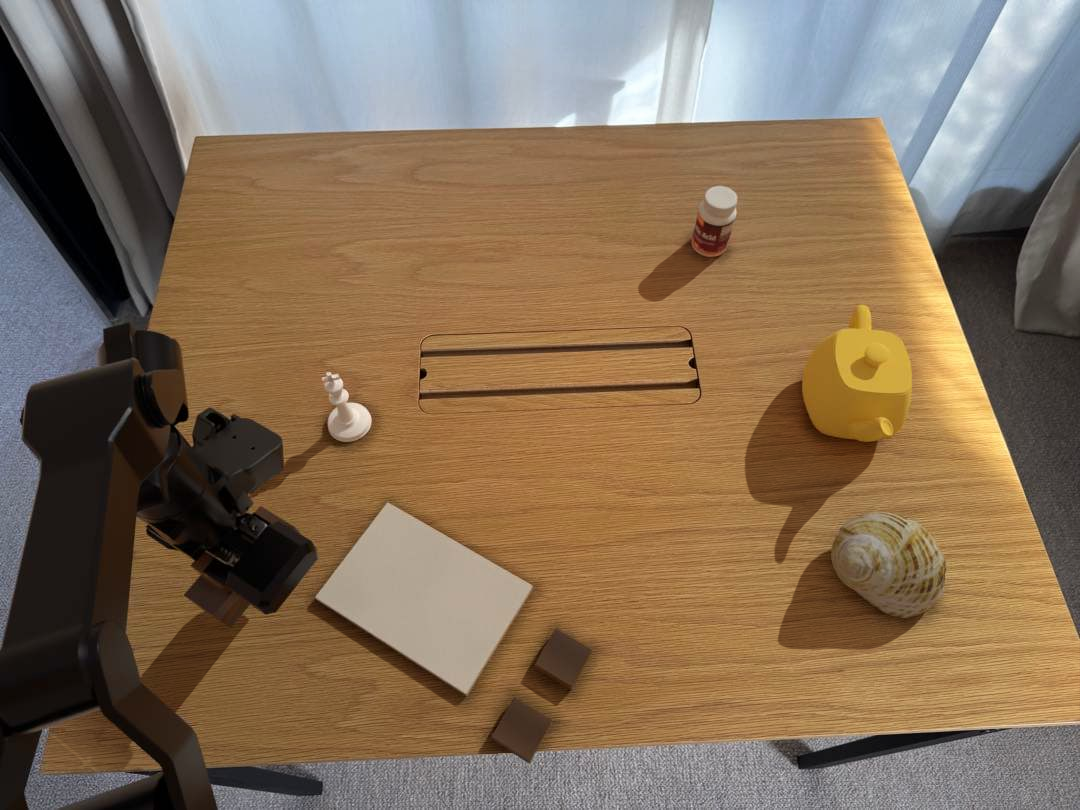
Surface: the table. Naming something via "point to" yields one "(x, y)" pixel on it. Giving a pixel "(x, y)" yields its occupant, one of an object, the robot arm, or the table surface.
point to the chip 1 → (522, 730)
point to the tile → (426, 597)
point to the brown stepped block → (216, 595)
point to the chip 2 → (563, 659)
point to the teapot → (858, 382)
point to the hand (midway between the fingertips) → (240, 560)
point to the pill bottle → (715, 221)
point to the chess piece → (345, 412)
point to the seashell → (890, 563)
